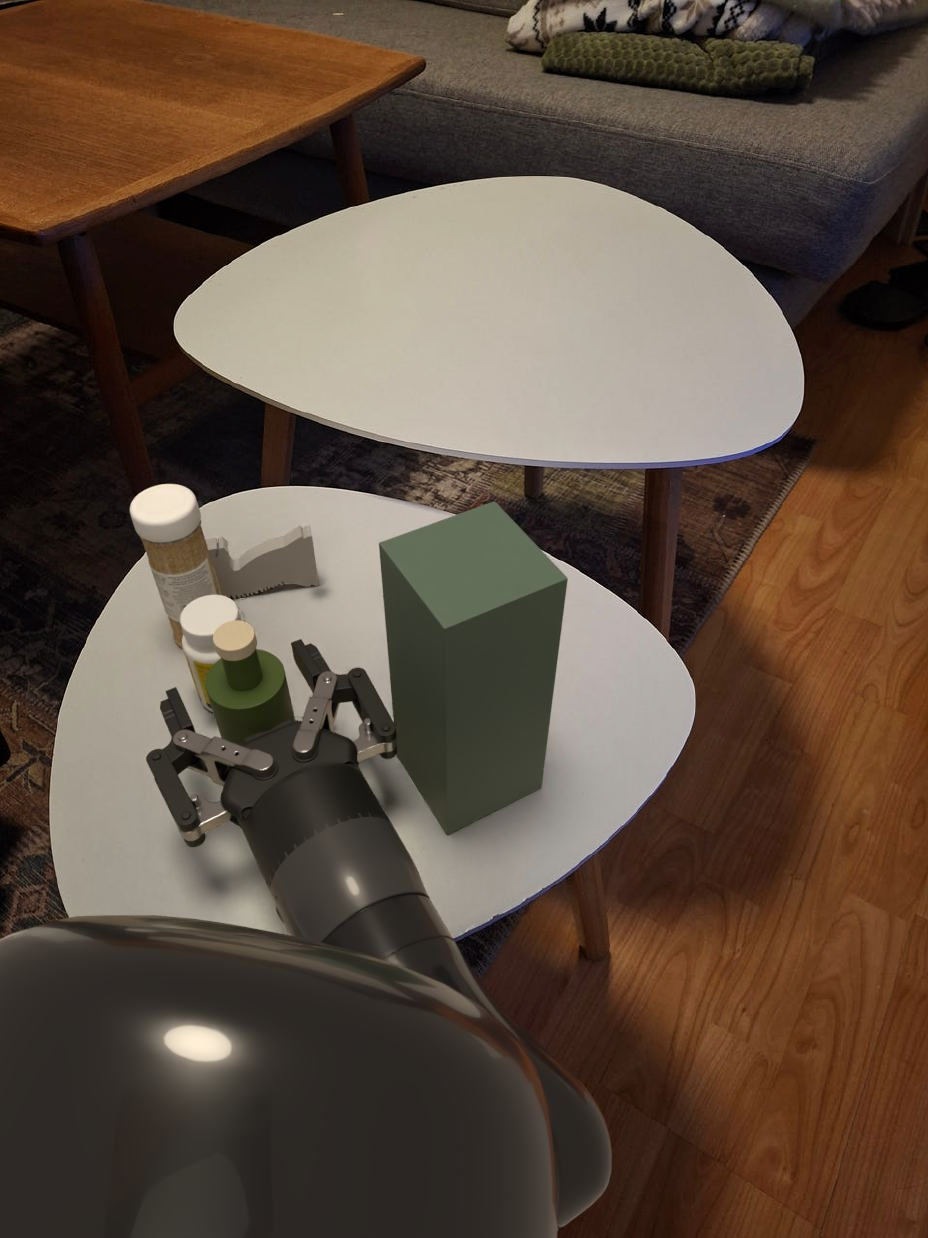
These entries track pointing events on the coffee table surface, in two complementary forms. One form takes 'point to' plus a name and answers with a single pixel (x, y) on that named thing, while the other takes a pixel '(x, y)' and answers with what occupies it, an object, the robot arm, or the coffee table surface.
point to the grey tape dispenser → (265, 564)
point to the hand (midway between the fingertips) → (236, 672)
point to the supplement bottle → (204, 636)
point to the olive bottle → (246, 685)
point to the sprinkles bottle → (174, 548)
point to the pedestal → (471, 659)
